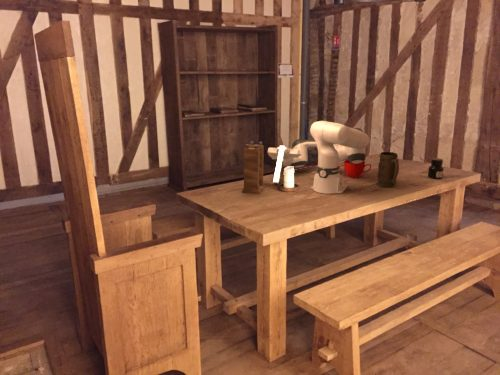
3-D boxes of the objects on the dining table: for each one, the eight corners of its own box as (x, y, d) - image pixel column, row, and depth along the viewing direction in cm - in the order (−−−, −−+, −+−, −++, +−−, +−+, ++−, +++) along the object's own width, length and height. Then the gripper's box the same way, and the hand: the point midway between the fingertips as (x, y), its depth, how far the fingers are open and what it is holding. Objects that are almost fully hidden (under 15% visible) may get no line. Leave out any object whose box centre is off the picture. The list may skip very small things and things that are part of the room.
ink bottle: (440, 180, 275) (442, 161, 272) (425, 178, 280) (427, 159, 277) (444, 177, 283) (446, 158, 279) (430, 175, 288) (432, 157, 284)
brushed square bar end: (280, 148, 275) (280, 145, 272) (285, 148, 274) (284, 145, 272) (273, 184, 263) (273, 181, 261) (278, 184, 263) (278, 182, 260)
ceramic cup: (370, 180, 274) (372, 164, 271) (343, 178, 277) (344, 163, 274) (369, 175, 286) (370, 160, 283) (343, 174, 289) (344, 159, 286)
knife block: (248, 186, 258) (248, 141, 251) (264, 187, 256) (265, 141, 248) (242, 192, 246) (242, 144, 239) (259, 193, 243) (259, 145, 236)
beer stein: (371, 184, 265) (376, 151, 258) (385, 181, 270) (389, 150, 263) (390, 192, 252) (395, 158, 246) (403, 189, 257) (409, 156, 250)
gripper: (300, 161, 281) (298, 154, 268) (269, 159, 286) (265, 152, 273) (301, 151, 282) (299, 144, 269) (270, 150, 288) (266, 142, 275)
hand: (281, 148), depth 271 cm, fingers closed on brushed square bar end, 3 cm apart
